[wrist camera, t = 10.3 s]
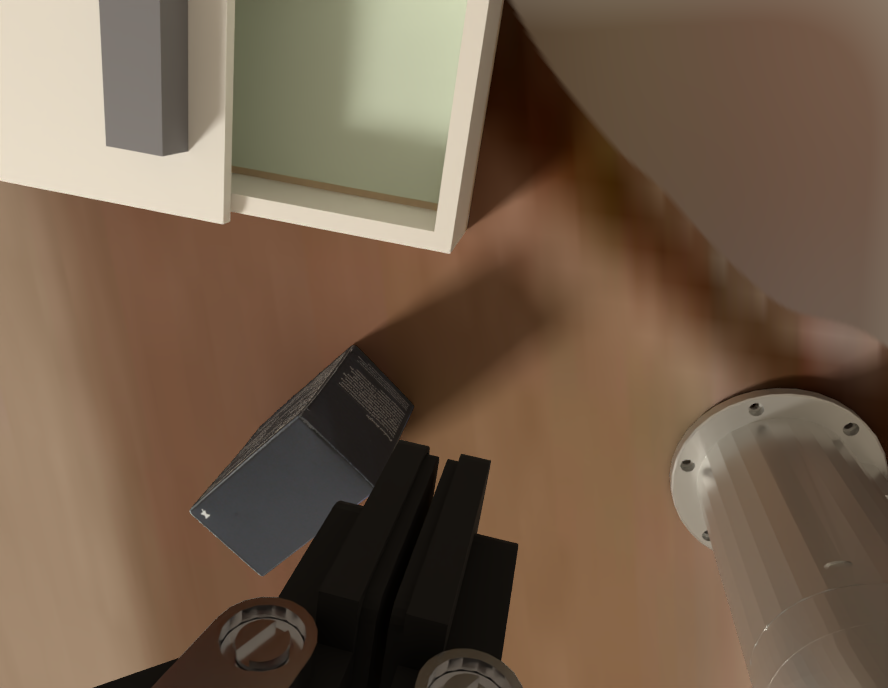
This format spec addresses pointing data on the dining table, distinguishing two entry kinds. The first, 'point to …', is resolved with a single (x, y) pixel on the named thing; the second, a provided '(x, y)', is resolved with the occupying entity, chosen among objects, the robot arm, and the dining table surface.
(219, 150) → the lid
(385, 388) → the small box
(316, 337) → the dining table surface
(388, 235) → the base
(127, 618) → the dining table surface
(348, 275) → the dining table surface
